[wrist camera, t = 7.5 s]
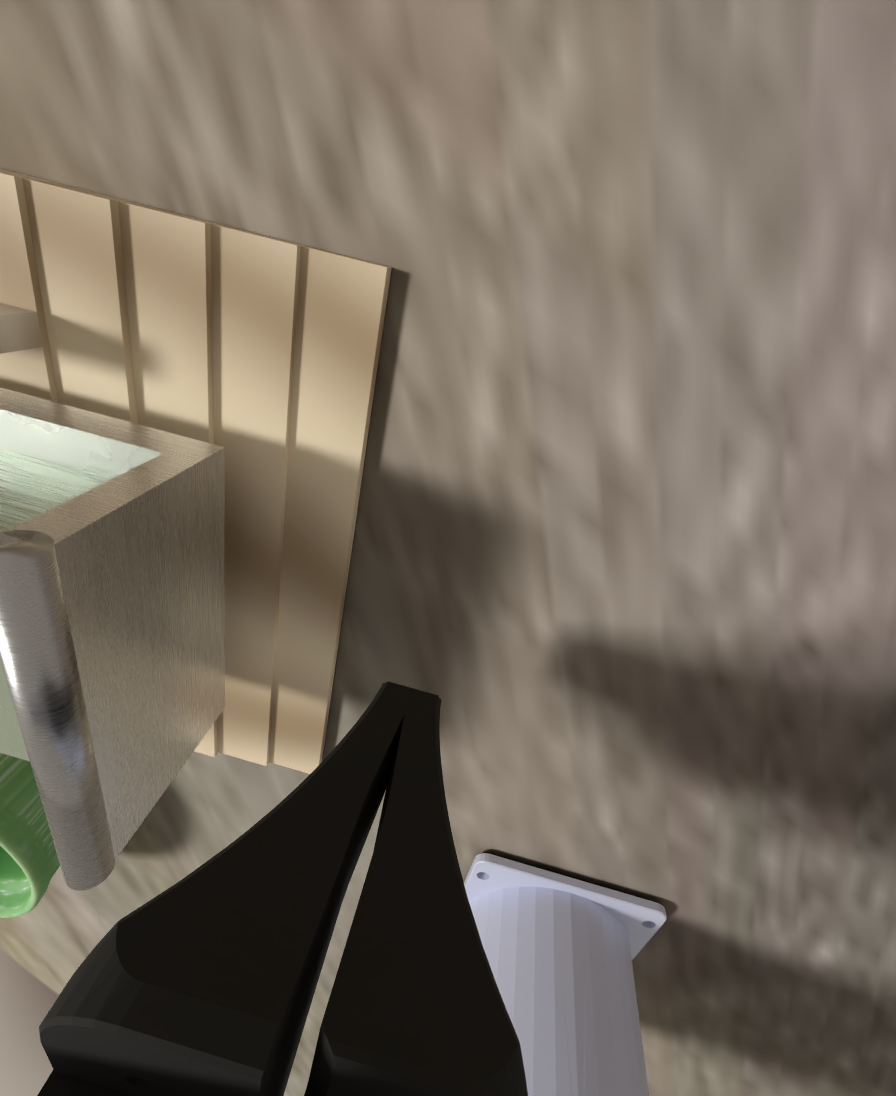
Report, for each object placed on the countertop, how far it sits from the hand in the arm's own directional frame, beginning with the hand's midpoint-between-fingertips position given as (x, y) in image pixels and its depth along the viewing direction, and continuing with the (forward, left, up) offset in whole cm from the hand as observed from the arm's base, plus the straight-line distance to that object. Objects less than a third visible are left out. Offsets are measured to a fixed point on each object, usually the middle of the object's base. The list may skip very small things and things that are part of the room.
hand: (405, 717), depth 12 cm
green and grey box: (0, +10, -3) cm, 10 cm away
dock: (0, +10, -4) cm, 11 cm away
